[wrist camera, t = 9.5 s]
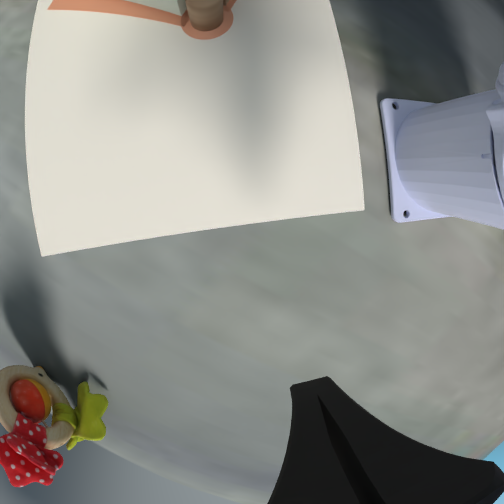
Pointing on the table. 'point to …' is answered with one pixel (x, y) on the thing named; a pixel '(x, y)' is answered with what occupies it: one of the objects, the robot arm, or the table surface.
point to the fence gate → (165, 5)
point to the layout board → (185, 120)
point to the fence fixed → (205, 13)
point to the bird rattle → (37, 410)
